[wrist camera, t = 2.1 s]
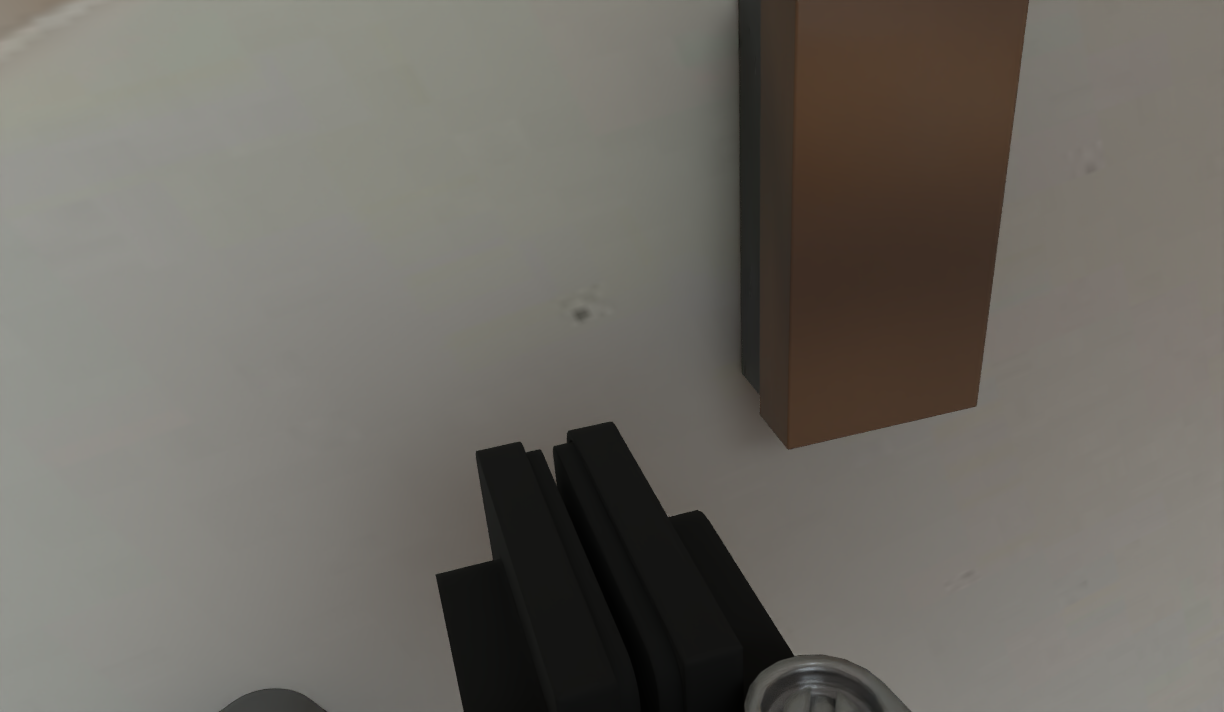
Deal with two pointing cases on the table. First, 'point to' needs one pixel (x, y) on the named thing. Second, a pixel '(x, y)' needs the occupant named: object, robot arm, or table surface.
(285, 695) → the bracket
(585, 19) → the table surface
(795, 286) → the brush
